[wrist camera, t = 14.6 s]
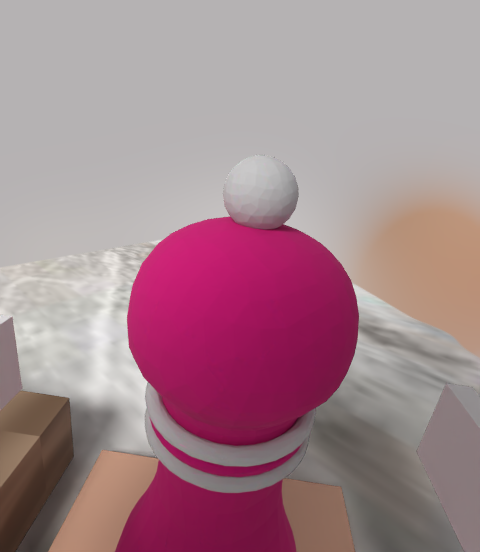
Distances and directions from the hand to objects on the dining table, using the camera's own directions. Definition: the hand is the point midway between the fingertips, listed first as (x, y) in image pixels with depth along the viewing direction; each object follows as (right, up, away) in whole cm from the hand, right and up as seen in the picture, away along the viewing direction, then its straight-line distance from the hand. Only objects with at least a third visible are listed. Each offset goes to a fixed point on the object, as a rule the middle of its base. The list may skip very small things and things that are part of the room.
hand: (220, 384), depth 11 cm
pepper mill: (-1, -12, +5) cm, 13 cm away
